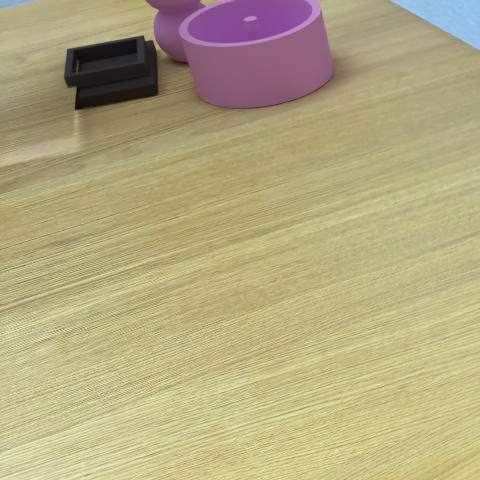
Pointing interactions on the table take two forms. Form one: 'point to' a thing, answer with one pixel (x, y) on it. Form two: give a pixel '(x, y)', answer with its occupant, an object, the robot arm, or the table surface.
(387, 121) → the table surface
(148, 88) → the base pad
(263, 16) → the container set
